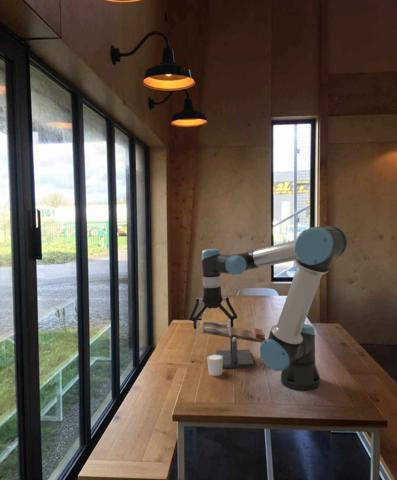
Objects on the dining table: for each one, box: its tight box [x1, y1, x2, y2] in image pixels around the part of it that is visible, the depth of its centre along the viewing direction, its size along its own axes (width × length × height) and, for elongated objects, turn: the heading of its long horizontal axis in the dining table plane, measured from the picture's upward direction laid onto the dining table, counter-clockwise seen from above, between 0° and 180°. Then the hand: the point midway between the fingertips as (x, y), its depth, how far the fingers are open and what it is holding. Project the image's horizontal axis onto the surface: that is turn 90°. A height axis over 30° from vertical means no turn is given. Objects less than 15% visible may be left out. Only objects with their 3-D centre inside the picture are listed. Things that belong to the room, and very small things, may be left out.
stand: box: [215, 337, 255, 369], centre depth 180 cm, size 16×18×13 cm
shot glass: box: [206, 354, 224, 377], centre depth 167 cm, size 7×7×7 cm
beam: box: [202, 320, 266, 344], centre depth 180 cm, size 28×11×4 cm, turn 90°
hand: (213, 335), depth 166 cm, fingers open, 13 cm apart
